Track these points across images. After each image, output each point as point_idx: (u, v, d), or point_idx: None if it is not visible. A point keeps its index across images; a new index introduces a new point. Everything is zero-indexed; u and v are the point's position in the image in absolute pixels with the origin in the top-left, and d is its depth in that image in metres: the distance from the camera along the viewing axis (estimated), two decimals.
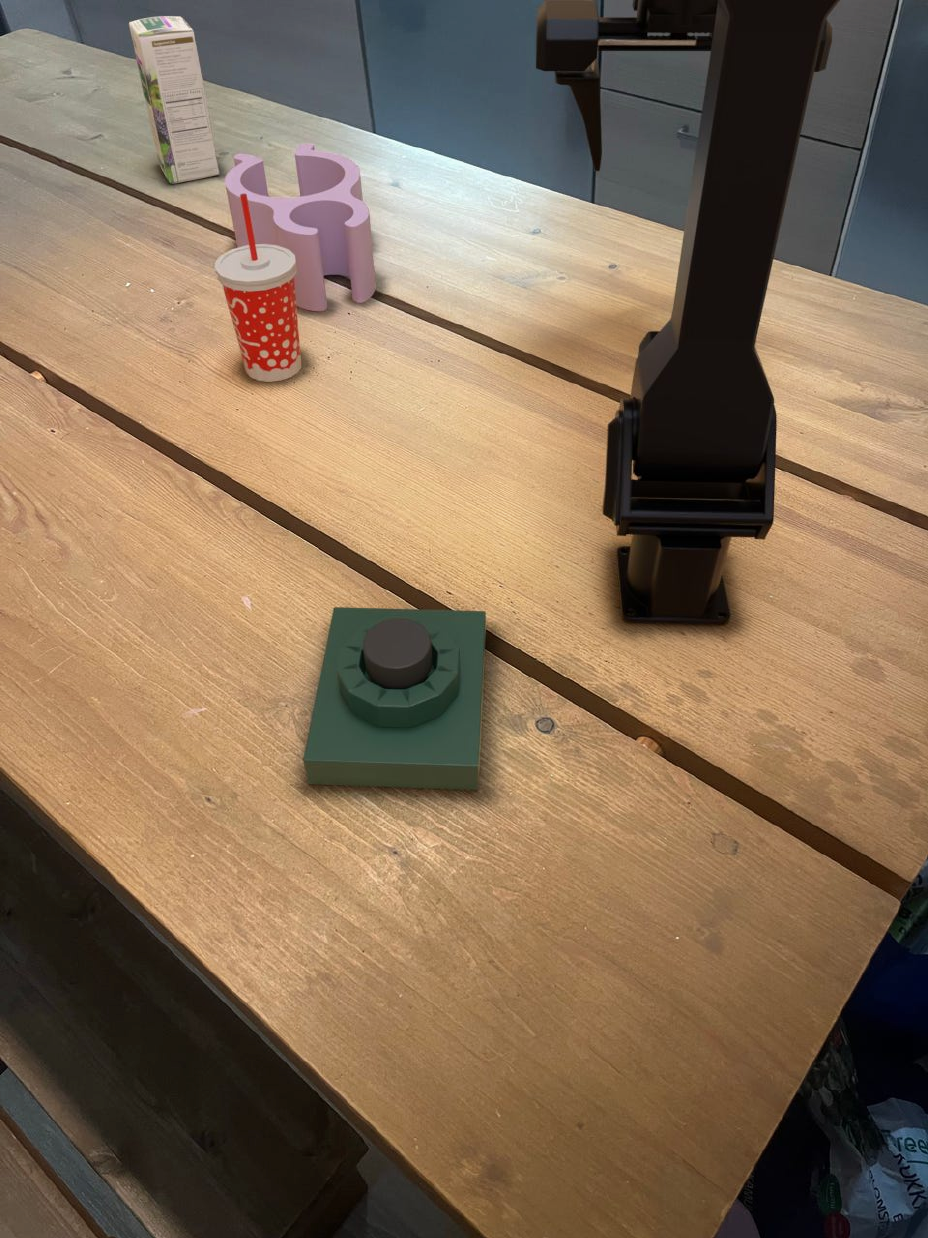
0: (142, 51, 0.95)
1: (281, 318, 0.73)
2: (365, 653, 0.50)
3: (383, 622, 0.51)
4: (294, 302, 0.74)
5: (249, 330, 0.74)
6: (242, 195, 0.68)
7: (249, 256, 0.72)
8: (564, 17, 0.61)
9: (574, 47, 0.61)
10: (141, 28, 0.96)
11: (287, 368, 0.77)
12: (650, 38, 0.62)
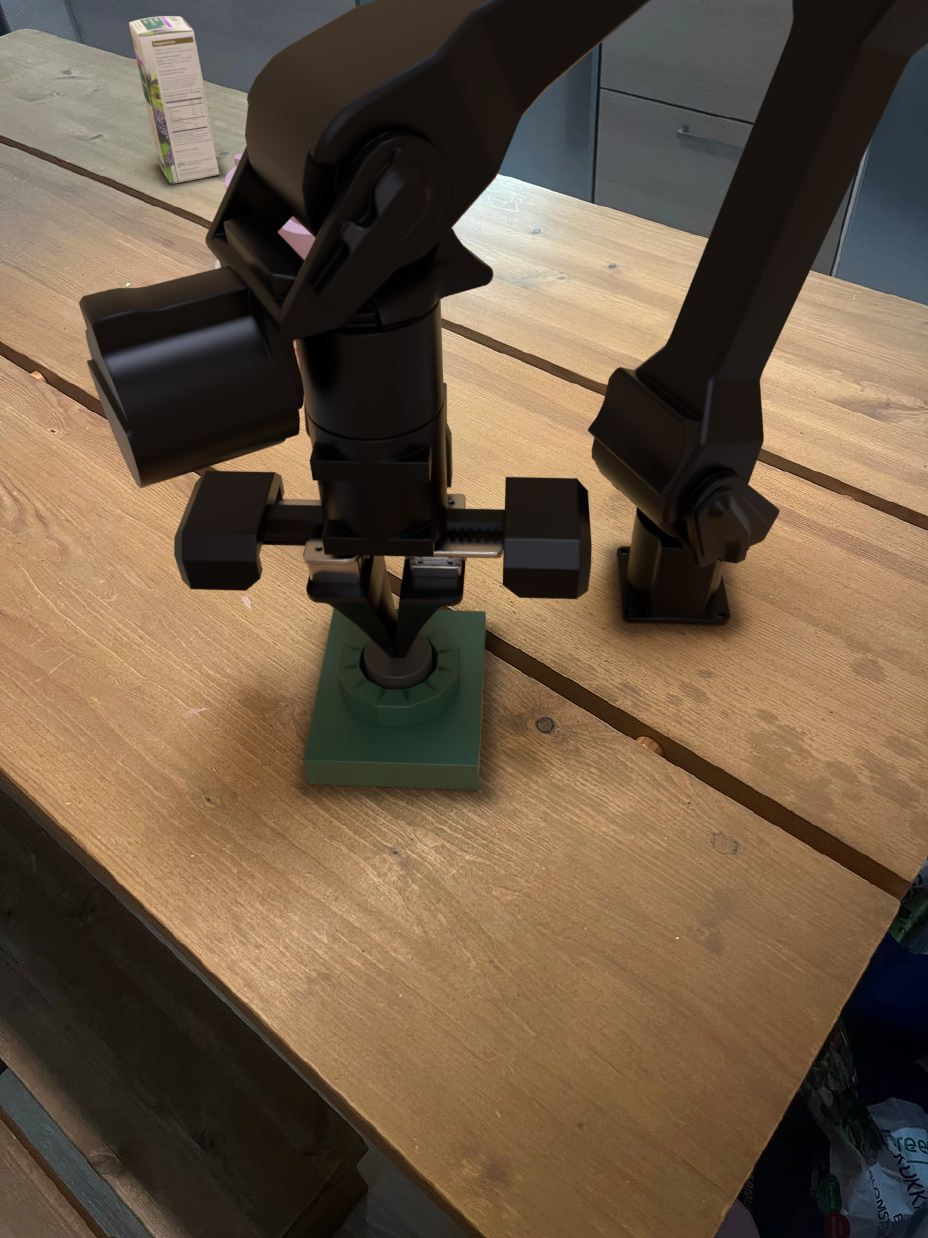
0: (142, 51, 0.95)
1: None
2: (366, 662, 0.50)
3: None
4: None
5: None
6: None
7: None
8: (210, 525, 0.42)
9: (225, 568, 0.42)
10: (141, 28, 0.96)
11: None
12: (436, 547, 0.43)
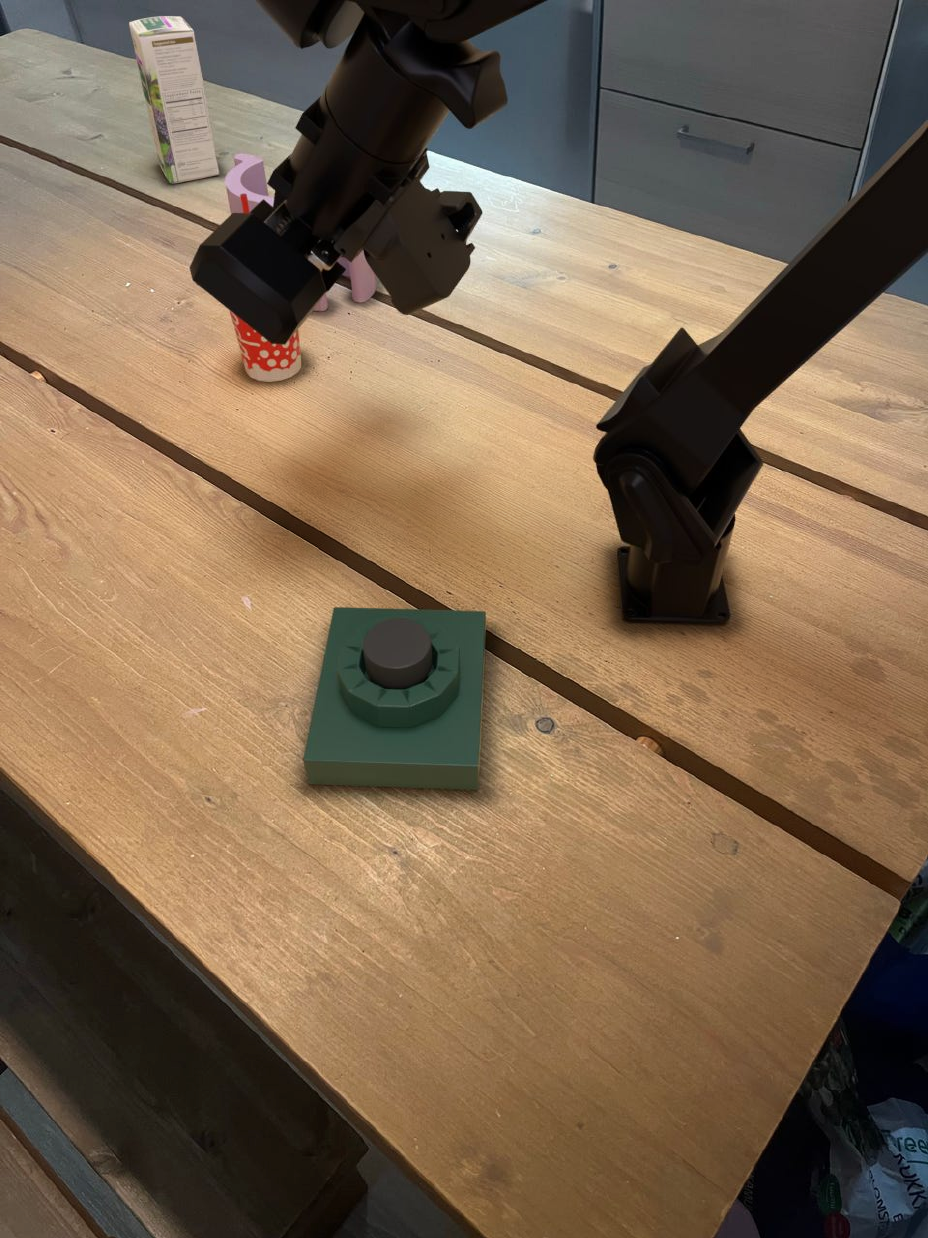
0: (142, 51, 0.95)
1: None
2: (365, 653, 0.50)
3: (383, 622, 0.51)
4: None
5: (249, 330, 0.74)
6: (242, 195, 0.68)
7: None
8: None
9: None
10: (141, 28, 0.96)
11: (287, 368, 0.77)
12: (283, 210, 0.53)
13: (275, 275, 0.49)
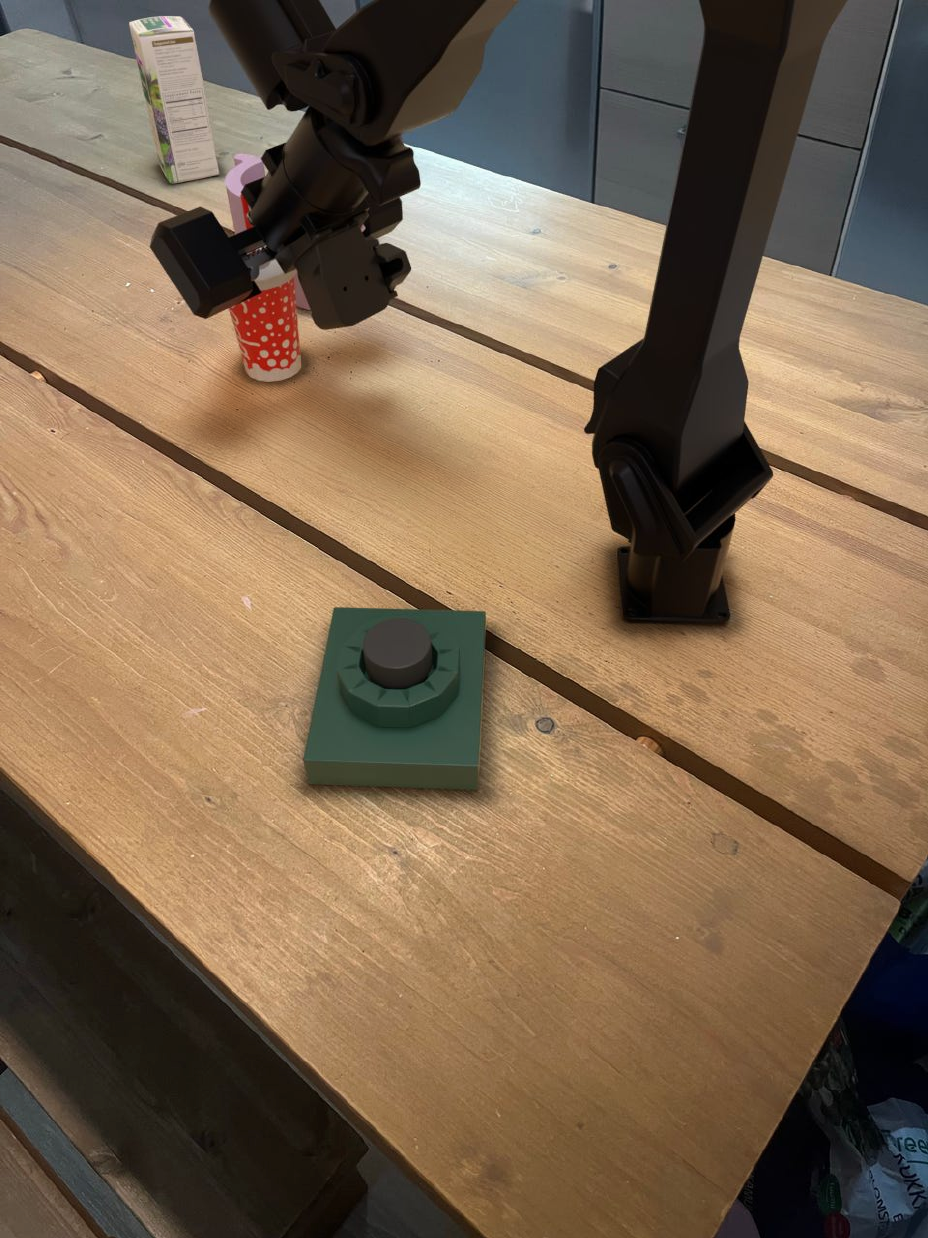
0: (142, 51, 0.95)
1: (281, 318, 0.73)
2: (365, 653, 0.50)
3: (383, 622, 0.51)
4: (294, 302, 0.74)
5: (249, 330, 0.74)
6: None
7: None
8: None
9: None
10: (141, 28, 0.96)
11: (287, 368, 0.77)
12: None
13: (207, 264, 0.62)
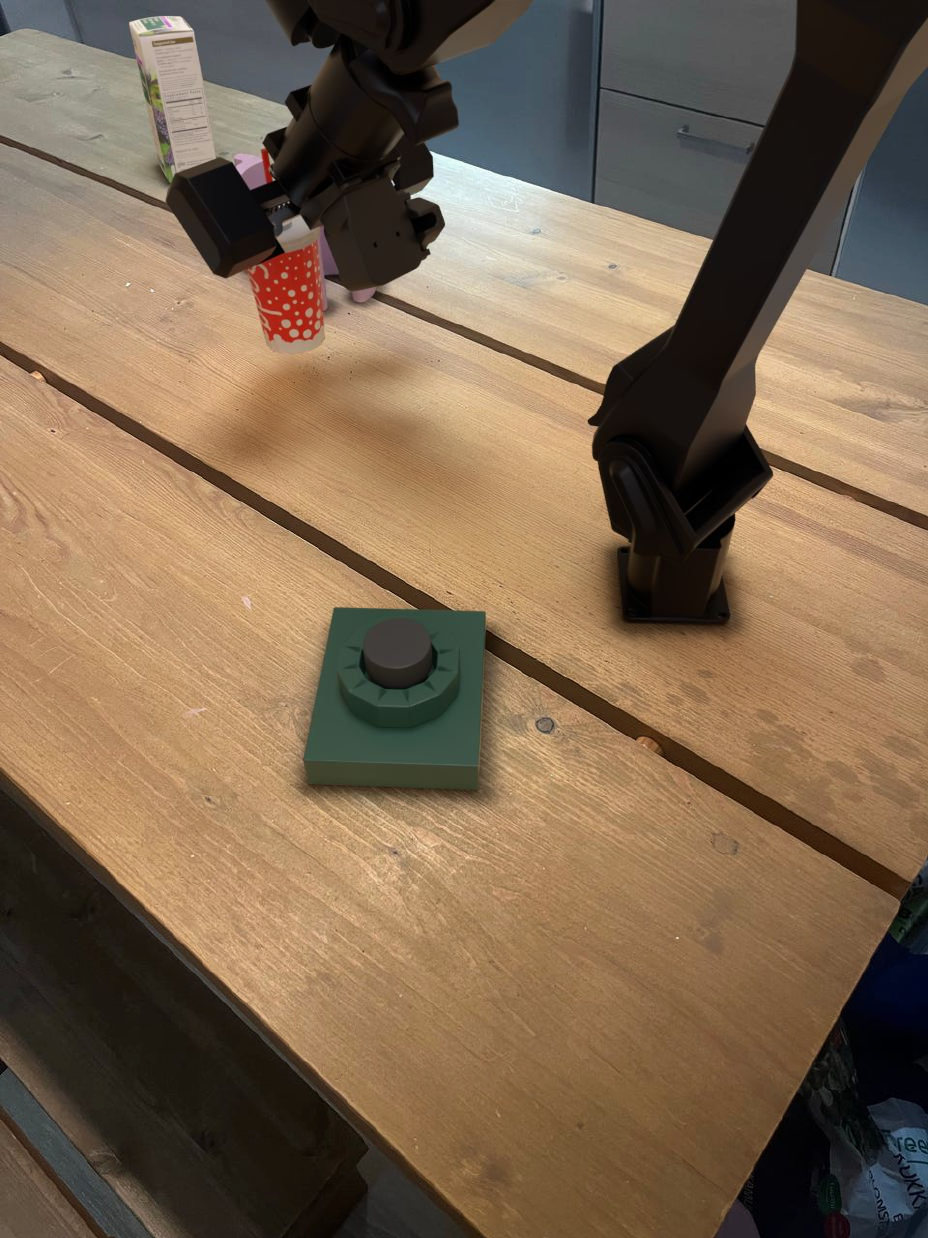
0: (142, 51, 0.95)
1: (305, 284, 0.69)
2: (365, 653, 0.50)
3: (383, 622, 0.51)
4: (318, 267, 0.70)
5: (271, 298, 0.69)
6: (263, 150, 0.64)
7: None
8: None
9: None
10: (141, 28, 0.96)
11: (310, 340, 0.72)
12: None
13: (227, 217, 0.57)
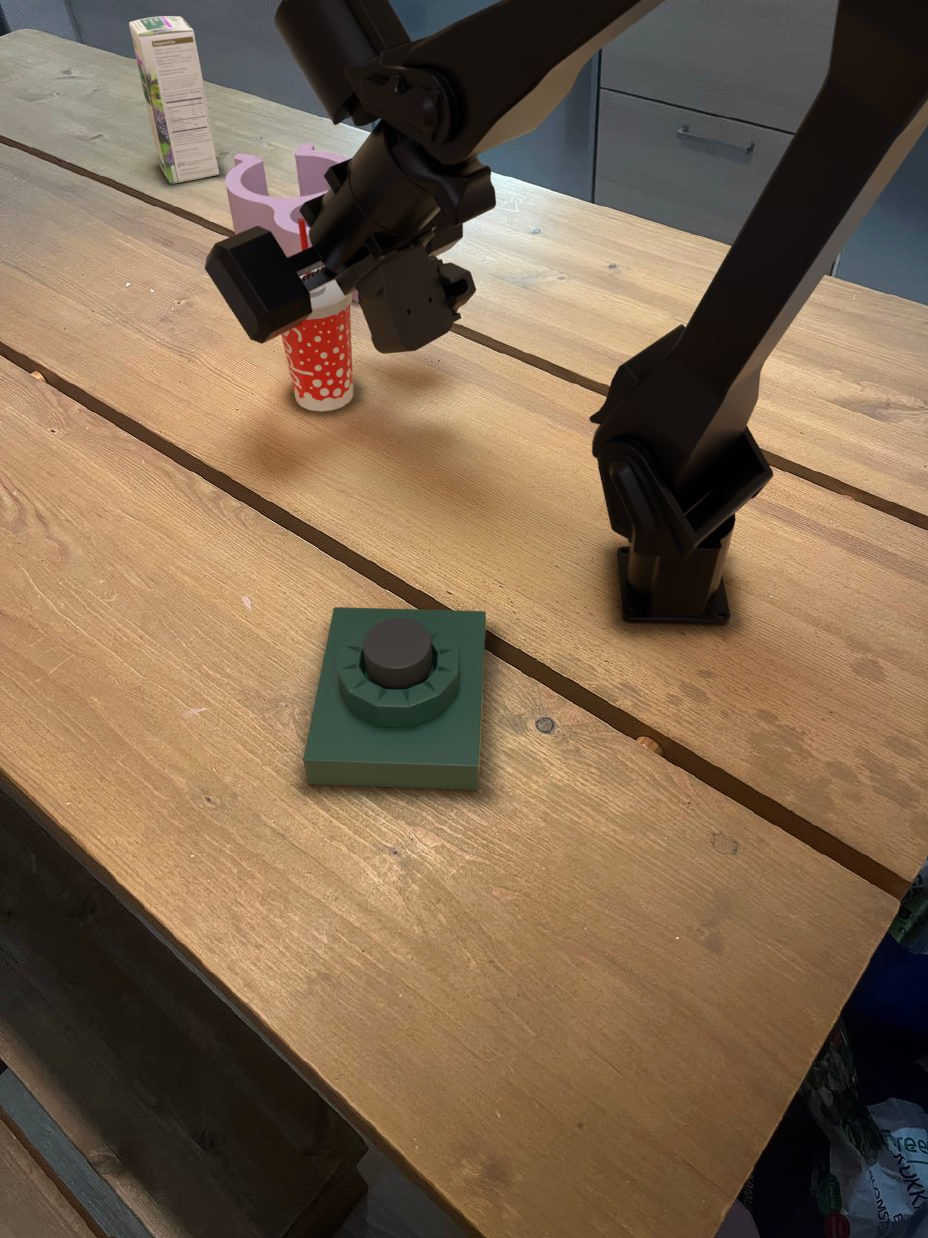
0: (142, 51, 0.95)
1: (337, 346, 0.70)
2: (365, 653, 0.50)
3: (383, 622, 0.51)
4: (349, 330, 0.71)
5: (303, 359, 0.71)
6: (300, 220, 0.65)
7: None
8: None
9: None
10: (141, 28, 0.96)
11: (339, 398, 0.74)
12: None
13: (266, 287, 0.59)
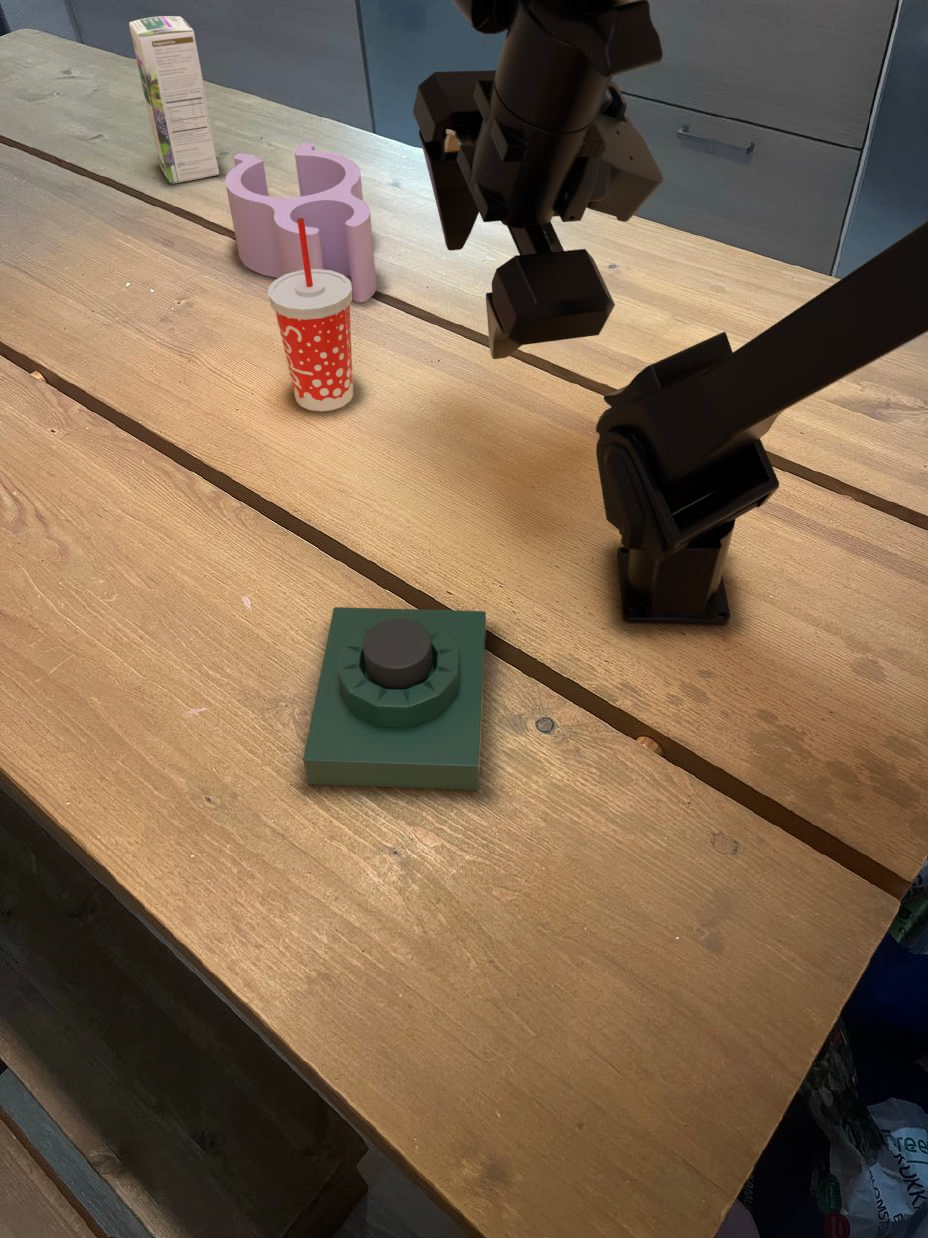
0: (142, 51, 0.95)
1: (336, 346, 0.70)
2: (365, 653, 0.50)
3: (383, 622, 0.51)
4: (349, 329, 0.71)
5: (303, 359, 0.71)
6: (299, 220, 0.65)
7: (303, 282, 0.69)
8: (447, 85, 0.57)
9: (425, 114, 0.57)
10: (141, 28, 0.96)
11: (339, 398, 0.74)
12: None
13: (578, 285, 0.52)
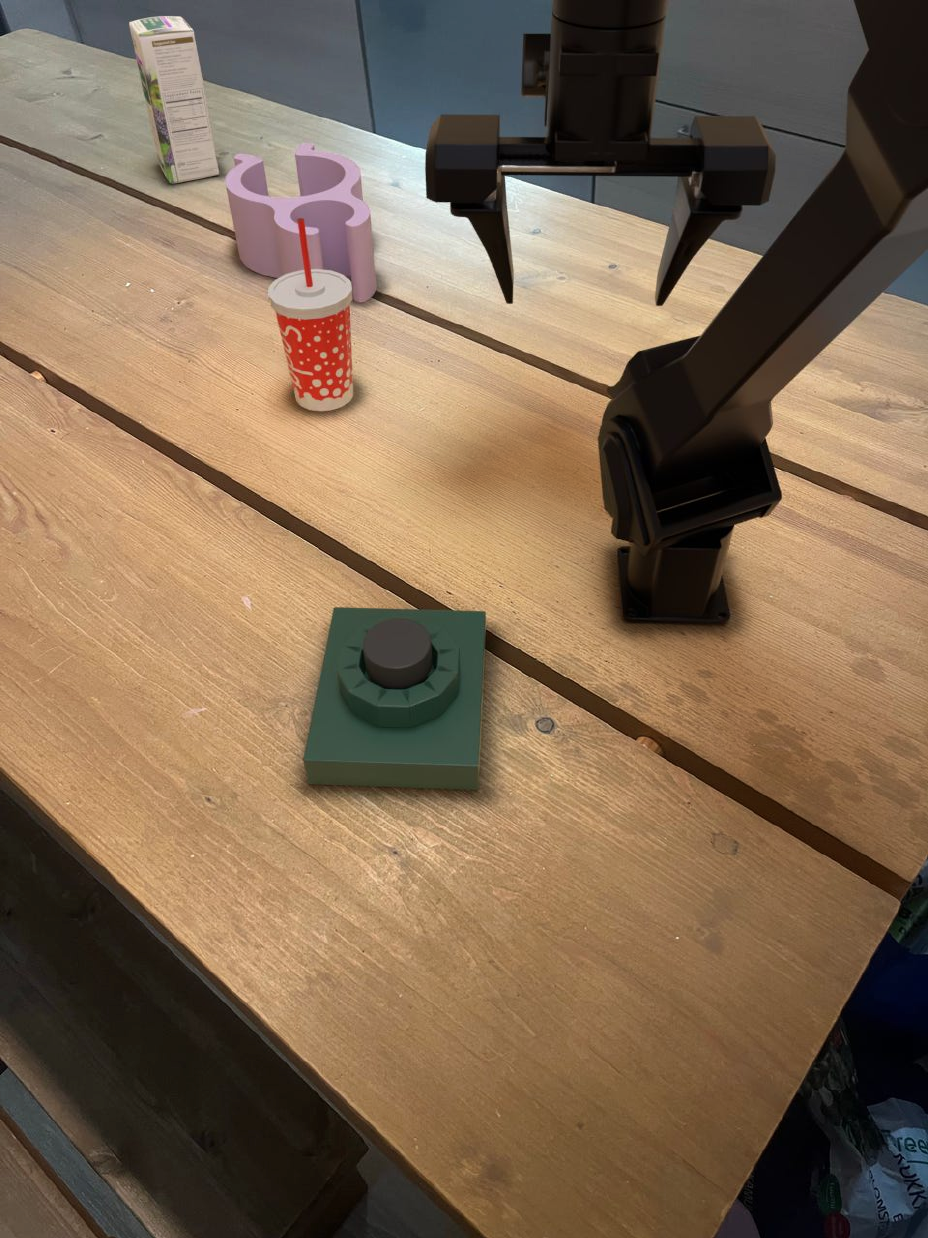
0: (142, 51, 0.95)
1: (336, 346, 0.70)
2: (365, 653, 0.50)
3: (383, 622, 0.51)
4: (349, 329, 0.71)
5: (303, 359, 0.71)
6: (299, 220, 0.65)
7: (303, 282, 0.69)
8: (457, 141, 0.51)
9: (469, 177, 0.51)
10: (141, 28, 0.96)
11: (339, 398, 0.74)
12: (561, 164, 0.52)
13: (742, 125, 0.52)
